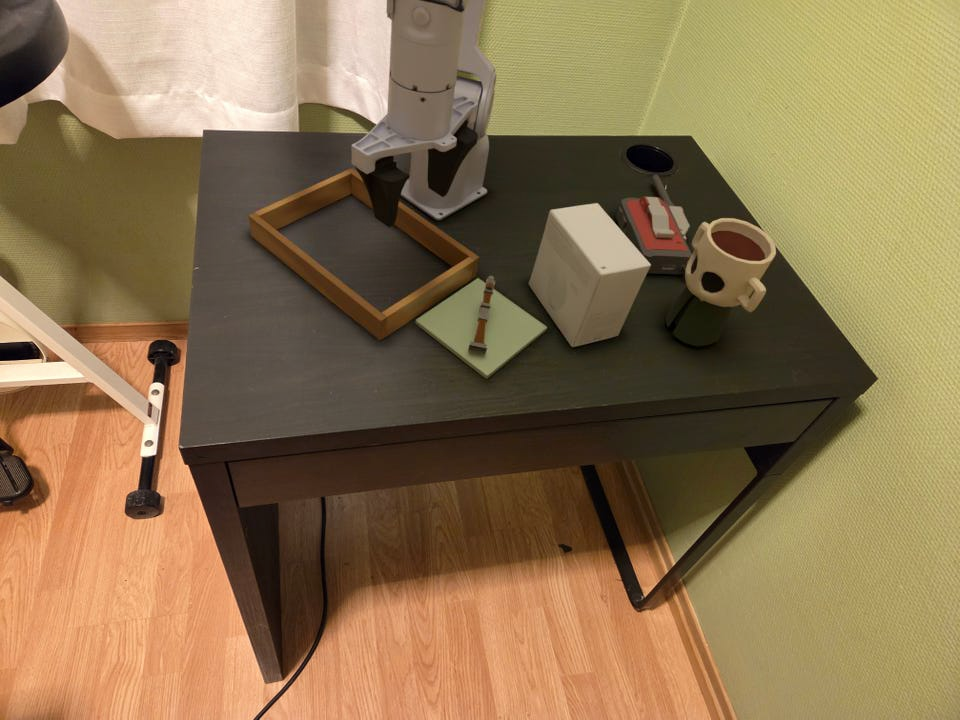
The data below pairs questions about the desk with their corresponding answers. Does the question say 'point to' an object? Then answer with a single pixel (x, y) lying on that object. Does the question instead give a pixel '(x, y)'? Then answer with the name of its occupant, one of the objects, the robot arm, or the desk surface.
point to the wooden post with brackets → (483, 318)
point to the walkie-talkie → (656, 230)
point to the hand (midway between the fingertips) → (411, 205)
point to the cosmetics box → (587, 273)
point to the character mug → (720, 278)
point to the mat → (459, 324)
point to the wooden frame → (335, 290)
